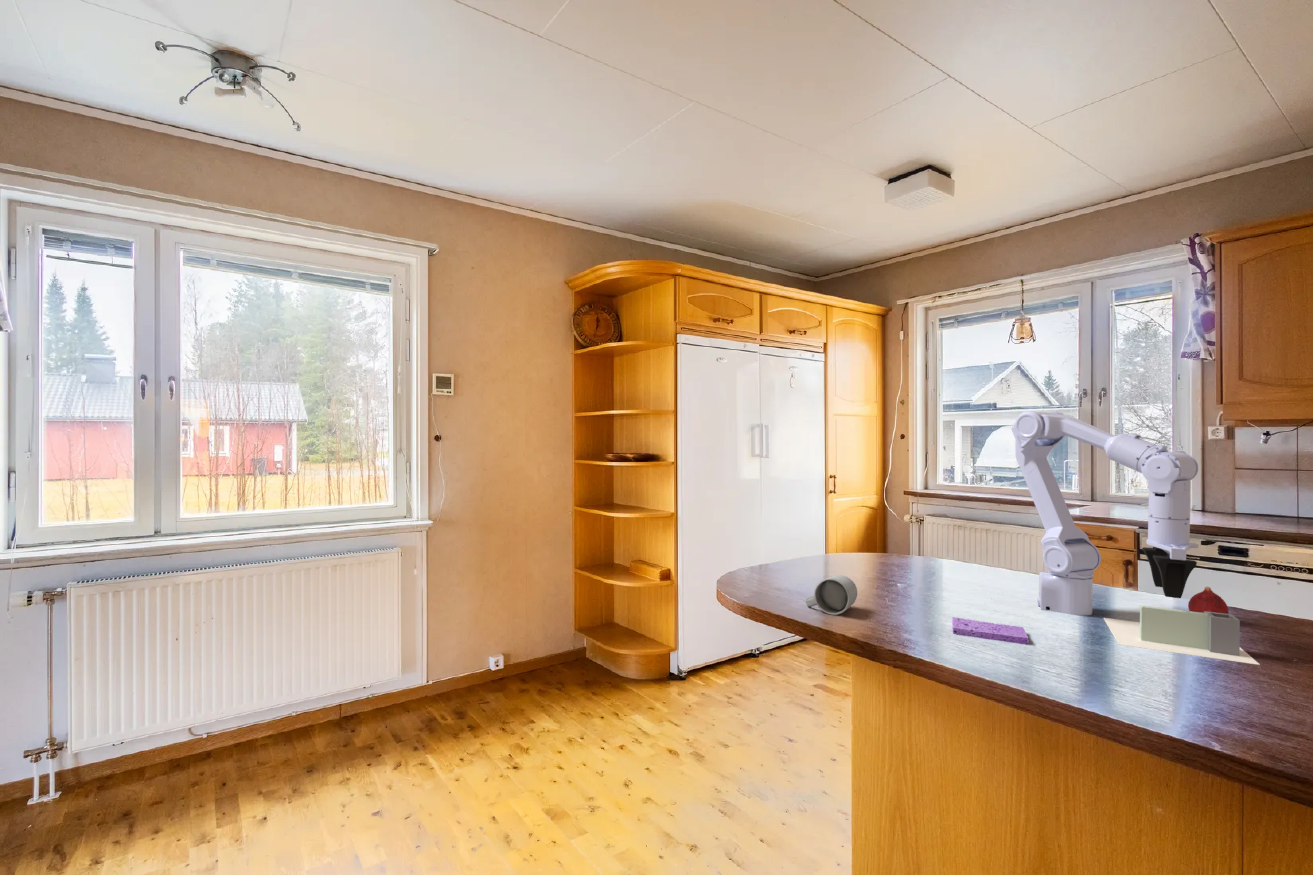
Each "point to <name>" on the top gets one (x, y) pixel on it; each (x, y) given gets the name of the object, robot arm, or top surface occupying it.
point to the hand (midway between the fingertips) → (1167, 591)
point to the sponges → (989, 630)
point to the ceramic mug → (834, 594)
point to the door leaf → (1191, 629)
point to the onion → (1207, 602)
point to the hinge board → (1130, 636)
